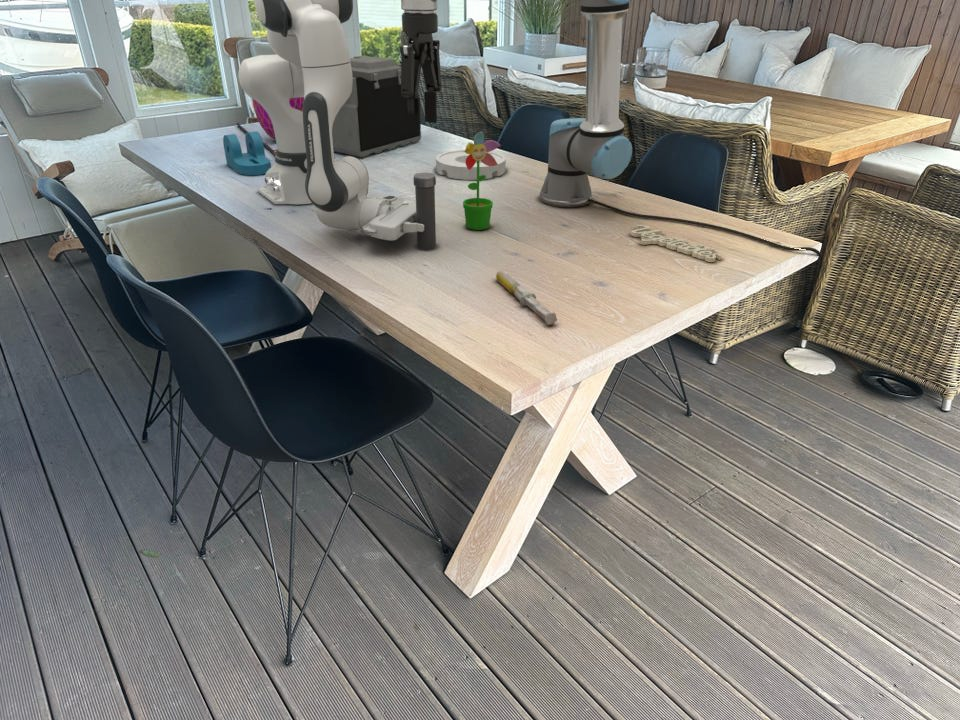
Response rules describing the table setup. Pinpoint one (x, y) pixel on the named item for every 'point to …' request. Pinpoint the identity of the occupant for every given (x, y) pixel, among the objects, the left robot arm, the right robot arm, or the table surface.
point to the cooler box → (373, 110)
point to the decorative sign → (674, 243)
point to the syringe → (525, 297)
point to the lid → (424, 180)
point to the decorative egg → (265, 119)
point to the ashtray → (457, 168)
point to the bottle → (426, 217)
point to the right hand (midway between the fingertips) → (422, 125)
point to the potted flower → (478, 207)
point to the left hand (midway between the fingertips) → (429, 223)
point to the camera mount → (246, 154)
